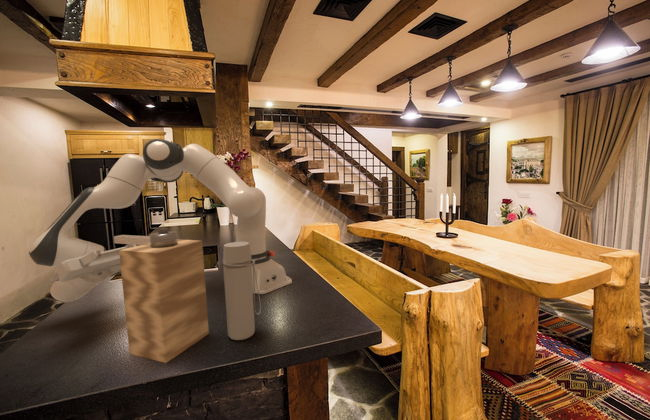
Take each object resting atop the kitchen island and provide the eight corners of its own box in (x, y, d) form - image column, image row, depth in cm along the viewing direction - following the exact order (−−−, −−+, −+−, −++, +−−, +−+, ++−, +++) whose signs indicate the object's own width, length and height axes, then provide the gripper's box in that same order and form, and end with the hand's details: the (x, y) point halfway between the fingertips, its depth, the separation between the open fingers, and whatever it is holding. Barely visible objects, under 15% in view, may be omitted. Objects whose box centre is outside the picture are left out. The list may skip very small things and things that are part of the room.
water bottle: (229, 345, 77) (222, 248, 75) (226, 331, 84) (220, 243, 82) (265, 336, 81) (260, 244, 78) (259, 324, 88) (254, 239, 85)
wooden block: (129, 353, 75) (119, 250, 72) (175, 327, 88) (168, 238, 85) (166, 363, 70) (156, 253, 68) (208, 333, 83) (202, 240, 81)
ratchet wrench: (107, 244, 79) (105, 228, 79) (129, 240, 85) (128, 225, 84) (163, 248, 72) (161, 231, 72) (183, 243, 78) (181, 227, 77)
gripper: (41, 271, 78) (67, 247, 73) (119, 252, 97) (144, 232, 92) (52, 293, 78) (78, 270, 73) (128, 269, 97) (153, 250, 92)
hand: (116, 249), depth 83 cm, fingers open, 8 cm apart
